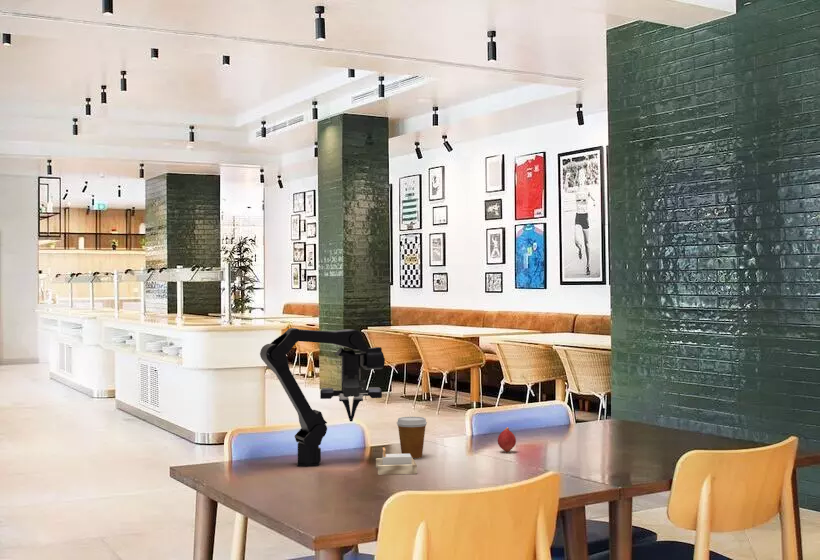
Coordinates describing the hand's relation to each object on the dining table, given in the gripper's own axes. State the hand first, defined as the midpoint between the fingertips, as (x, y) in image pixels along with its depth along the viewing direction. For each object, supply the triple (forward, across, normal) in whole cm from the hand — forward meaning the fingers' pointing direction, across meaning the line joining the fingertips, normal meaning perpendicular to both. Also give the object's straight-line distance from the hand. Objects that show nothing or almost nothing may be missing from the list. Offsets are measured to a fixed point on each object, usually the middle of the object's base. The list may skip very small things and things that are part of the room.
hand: (351, 421), depth 288 cm
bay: (+12, +12, -17) cm, 24 cm away
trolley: (+12, +13, -17) cm, 25 cm away
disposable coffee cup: (+12, +19, +4) cm, 23 cm away
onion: (+12, +50, +9) cm, 52 cm away
